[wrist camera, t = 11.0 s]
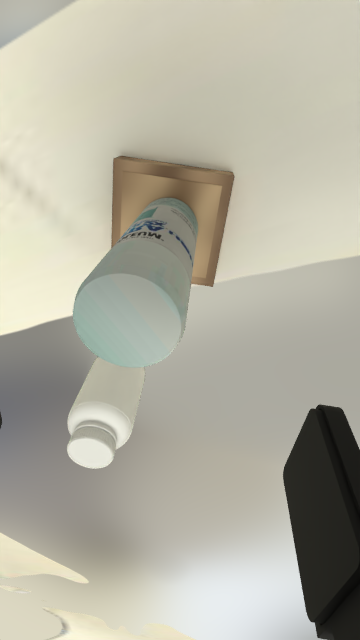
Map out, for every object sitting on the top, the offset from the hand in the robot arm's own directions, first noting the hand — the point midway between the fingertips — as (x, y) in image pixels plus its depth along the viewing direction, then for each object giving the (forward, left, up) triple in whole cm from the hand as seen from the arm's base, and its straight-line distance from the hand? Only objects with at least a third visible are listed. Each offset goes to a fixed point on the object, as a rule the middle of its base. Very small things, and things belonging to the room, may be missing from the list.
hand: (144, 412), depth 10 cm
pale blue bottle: (+2, +3, -29) cm, 29 cm away
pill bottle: (+8, +26, -32) cm, 42 cm away
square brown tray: (+3, +3, -32) cm, 32 cm away
